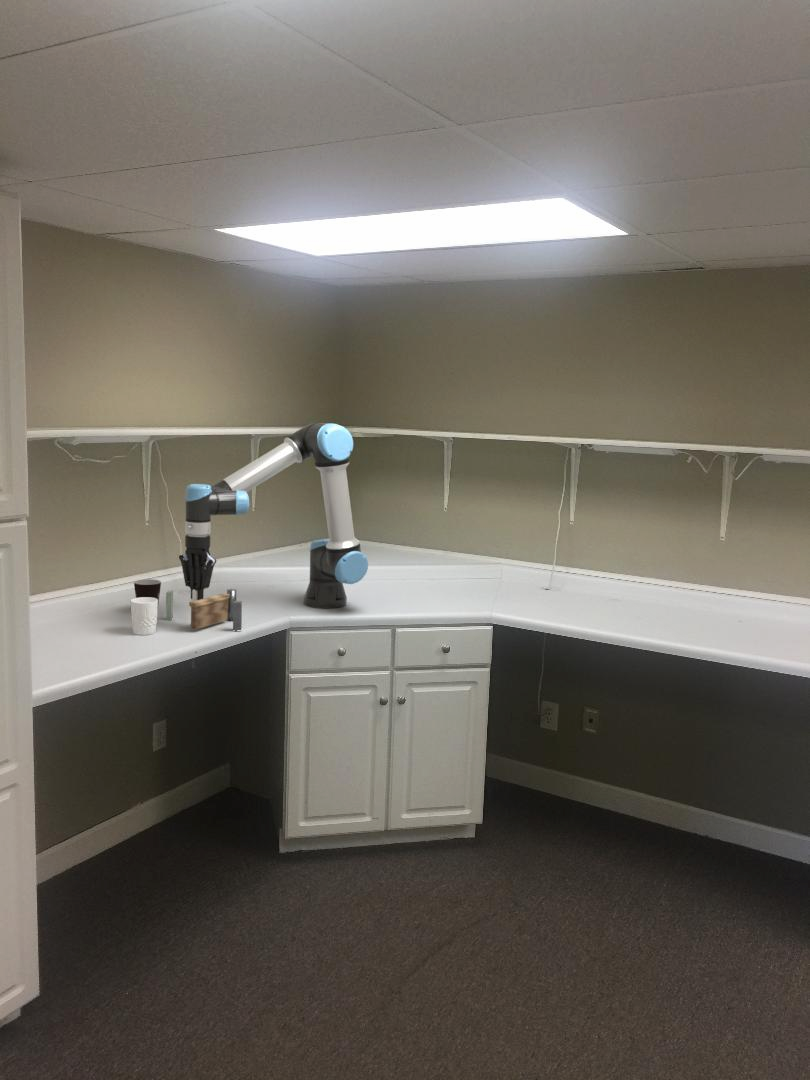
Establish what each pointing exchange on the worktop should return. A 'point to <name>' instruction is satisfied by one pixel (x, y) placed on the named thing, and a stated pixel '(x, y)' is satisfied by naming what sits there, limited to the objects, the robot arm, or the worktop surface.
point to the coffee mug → (147, 588)
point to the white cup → (144, 615)
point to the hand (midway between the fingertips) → (196, 609)
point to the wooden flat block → (209, 610)
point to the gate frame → (233, 608)
